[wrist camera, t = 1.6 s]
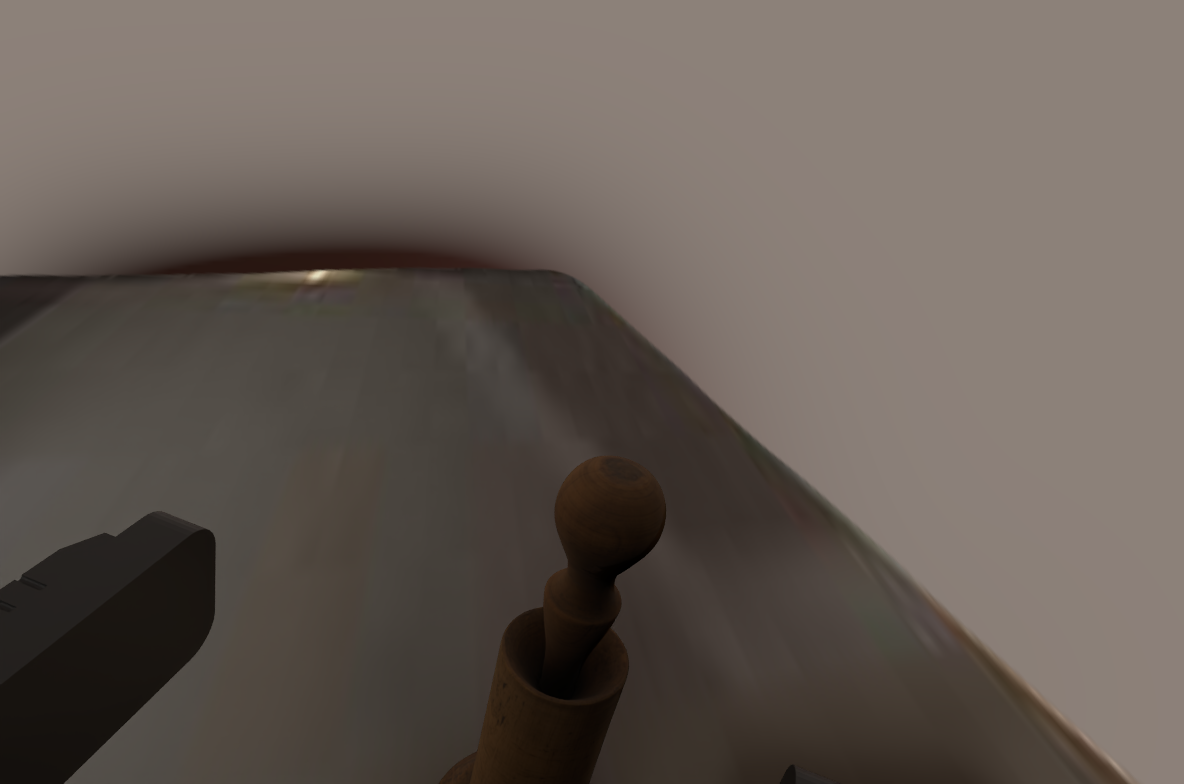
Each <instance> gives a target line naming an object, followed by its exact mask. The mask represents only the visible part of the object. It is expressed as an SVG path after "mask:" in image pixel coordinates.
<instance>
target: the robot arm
mask: <svg viewBox="0 0 1184 784" xmlns="http://www.w3.org/2000/svg"><path fill="white" fill-rule="evenodd" d="M215 548H216V544H215V537H214V535H213V533H212V532H211V531H210V530H207V529H205V528H202V527H200V526H197V525H195V524H192V523H190V522H187V521H185V520H182V519H180V518H177V517H175V516H172V515H170V514H167V513H165V512H162V511H157V512H152V513H150V514H148V515H146V516H145V517H143V518H142V519H140V520H139V521H137V522H136V523H134V524H133V525H132V526H130V527H129V528H127V529H126V530H125V531H123V532H122V533H120V534H119V535H118V536H116V537H114V536H112V535H109V534H107V533H103V534H100V535H98V536H95V537H92V538H89V539H87V540H84V541H81V542H78V543H76V544H73V545H70V546H67V547H65V548H62V549H59V550H58V551H56V552H55V553H53V554H52V555H51V556H49V557H48V558H46V559H45V560H43V561H42V562H40V563H39V564H37V565H36V566H34V567H33V568H31V569H30V570H28V571H27V572H25V573H24V574H22V577H21V579H20V580H19V581H16V580H14V581H12V582H11V583H9V584H8V585H6V586H5V587H3V588H2V589H0V784H64V783H65V782H66V781H67V780H68V779H69V778H70V777H71V776H72V775H73V774H74V773H75V772H76V771H77V770H78V769H79V768H80V767H81V766H82V765H83V764H84V763H85V762H86V761H87V760H88V759H89V758H90V757H91V756H92V755H93V754H94V753H95V752H96V751H97V750H98V749H99V748H100V747H101V746H103V745H104V744H105V743H106V742H107V741H108V740H109V739H110V738H111V737H112V736H113V735H114V734H115V733H116V732H117V731H118V730H119V729H120V728H121V727H122V726H123V725H124V724H125V723H126V722H127V721H128V720H129V719H130V718H131V717H132V716H133V715H134V714H135V713H136V712H137V711H138V710H139V709H140V708H141V707H142V706H143V705H144V704H146V703H147V702H148V701H149V700H150V699H151V698H152V697H153V696H154V695H155V694H156V693H157V692H158V691H159V690H160V689H161V688H162V687H163V686H164V685H165V684H166V683H167V682H168V681H169V680H170V679H171V678H172V677H173V676H174V675H175V674H176V673H177V672H178V671H179V670H180V669H181V668H182V667H183V666H184V665H185V664H186V663H188V662H189V661H190V660H191V658H192V657H193V656H194V655H195V654H196V653H197V652H198V650H199V649H200V647H201V646H202V644H203V643H204V641H205V639H206V638H207V635H208V633H209V631H210V629H211V626H212V623H213V620H214V614H215ZM780 784H840V783H838V782H835V781H833V780H830V779H828V778H825V777H823V776H820V775H818V774H815V773H813V772H810V771H808V770H805V769H803V768H800V767H798V766H795V765H790V766H789V768H788V769H787V770H786V772H785V774H784V776H783V778H782V780H781V782H780Z"/></svg>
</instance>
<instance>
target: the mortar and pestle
mask: <svg viewBox="0 0 1184 784" xmlns="http://www.w3.org/2000/svg"><path fill="white" fill-rule="evenodd" d="M665 519H666V504H665V499H664V495H663V492H662V489H661V487H660V485H659V483H658V482H657V480H656V479H655V477H654V476H653V475H652V474H651V473H650V472H649V471H648V470H647V469H646V468H644V467H643V466H641V465H639V464H638V463H636V462H634V461H631V460H629V459H626V458H622V457H618V456H599V457H594V458H592V459H589V460H587V461H585V462H583V463H582V464H580V465H579V466H577V467H576V468H575V469H574V470H573V471H572V472H571V473H570V474H569V475H568V477H567V478H566V479H565V481H564V482H563V484H562V486H561V488H560V490H559V493H558V495H557V499H556V503H555V523H556V528H557V531H558V535H559V537H560V540H561V543H562V546H563V548H564V551H565V553H566V556H567V559H568V568H566V569H563V570H560V571H558V572H556V573H555V574H553V575H552V576H551V577H550V578H549V580H548V581H547V584H546V586H545V591H544V603H543V607H540V608H535V609H532V610H529V611H526V612H524V613H522V614H521V615H519V616H518V617H516V618H515V619H514V620H513V621H512V622H511V623H510V624H509V625H508V627H507V628H506V630H505V632H504V634H503V637H502V641H501V645H500V649H499V654H498V658H497V663H496V668H495V673H494V677H493V682H492V687H491V691H490V696H489V701H488V705H487V710H486V714H485V719H484V723H483V728H482V732H481V737H480V741H479V746H478V750H477V752H475V753H473V754H471V755H469V756H467V757H466V758H464V759H462V760H461V761H460V762H458V763H457V764H456V765H455V766H453V767H452V768H451V769H450V770H449V771H448V772H447V773H446V775H445V776H444V777H443V778H442V780H441V781H440V783H439V784H589V782H590V779H591V776H592V773H593V770H594V767H595V764H596V762H597V759H598V756H599V753H600V750H601V747H602V744H603V741H604V738H605V736H606V733H607V730H608V727H609V724H610V722H611V719H612V716H613V713H614V711H615V708H616V705H617V703H618V700H619V697H620V695H621V692H622V689H623V687H624V684H625V681H626V678H627V675H628V669H629V660H628V655H627V651H626V648H625V646H624V644H623V643H622V641H621V639H620V638H619V637H618V635H617V634H616V633H615V632H614V631H613V630H612V629H611V628H610V627H611V626H612V624H613V623H614V621H615V619H616V617H617V616H618V614H619V612H620V609H621V604H622V603H621V596H620V593H619V591H618V589H617V587H616V586H615V585H614V582H615V578H616V577H617V575H619V574H621V573H622V572H624V571H625V570H627V569H628V568H630V567H631V566H633V565H634V564H635V563H637V562H638V561H640V560H641V559H642V558H644V557H645V556H646V555H647V554H648V553H649V552H650V551H651V550H652V549H653V548H654V546H655V545H656V544H657V542H658V540H659V539H660V537H661V534H662V532H663V528H664V525H665Z"/></svg>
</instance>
